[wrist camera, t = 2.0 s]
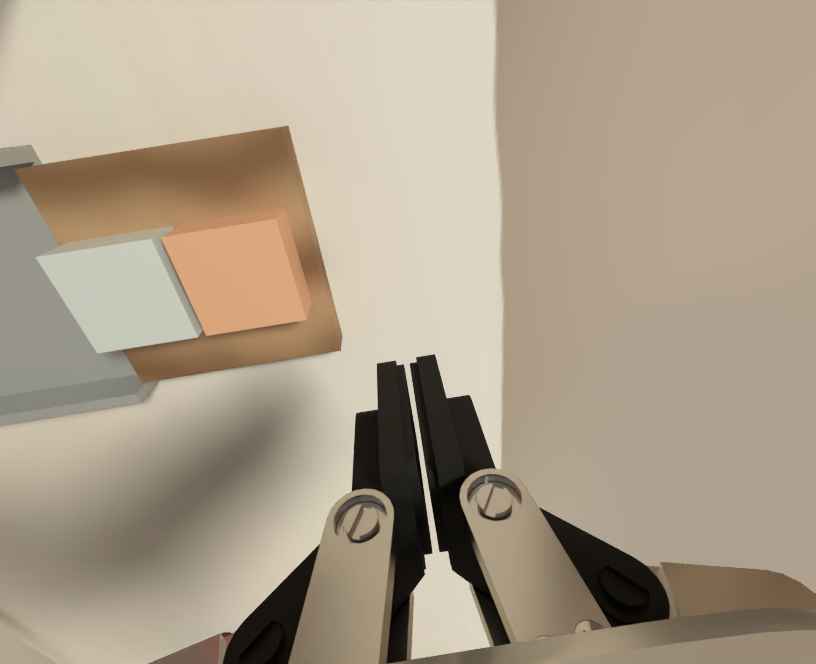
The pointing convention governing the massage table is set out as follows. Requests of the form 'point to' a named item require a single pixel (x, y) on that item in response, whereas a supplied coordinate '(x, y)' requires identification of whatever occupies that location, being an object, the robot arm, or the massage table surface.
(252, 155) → the walnut plate
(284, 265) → the terracotta tile
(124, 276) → the pale blue tile
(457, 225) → the massage table surface
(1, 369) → the grey tray
